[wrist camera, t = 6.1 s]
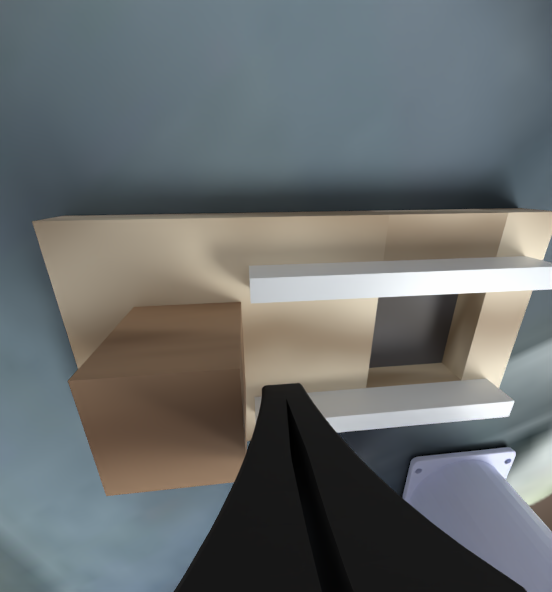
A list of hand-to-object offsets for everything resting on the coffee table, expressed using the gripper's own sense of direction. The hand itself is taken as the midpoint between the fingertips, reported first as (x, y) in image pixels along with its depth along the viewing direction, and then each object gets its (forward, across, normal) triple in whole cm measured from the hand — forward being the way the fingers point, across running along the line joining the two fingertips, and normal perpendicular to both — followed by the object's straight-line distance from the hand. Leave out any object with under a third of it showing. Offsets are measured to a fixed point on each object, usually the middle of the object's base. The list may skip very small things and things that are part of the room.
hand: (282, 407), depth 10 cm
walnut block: (+4, +4, 0) cm, 5 cm away
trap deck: (+6, -2, 0) cm, 6 cm away
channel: (+4, -6, 0) cm, 7 cm away
